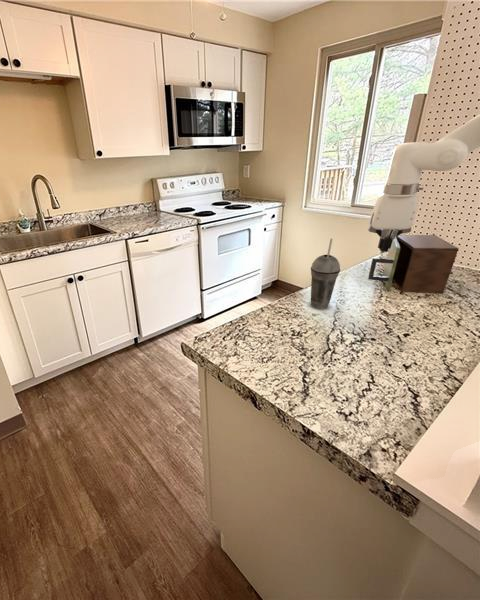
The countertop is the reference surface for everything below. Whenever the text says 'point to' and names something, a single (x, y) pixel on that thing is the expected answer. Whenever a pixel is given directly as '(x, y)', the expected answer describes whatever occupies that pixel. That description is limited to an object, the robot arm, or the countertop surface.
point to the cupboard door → (386, 265)
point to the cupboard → (423, 263)
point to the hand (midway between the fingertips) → (383, 250)
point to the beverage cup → (323, 279)
